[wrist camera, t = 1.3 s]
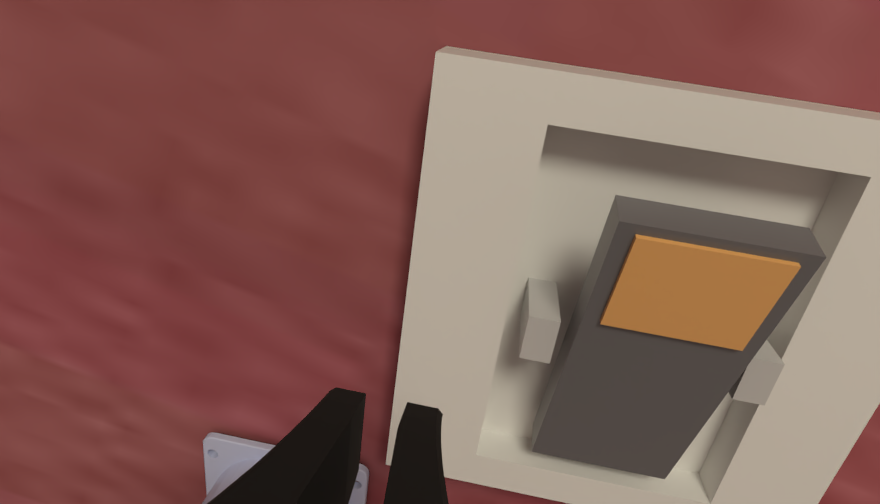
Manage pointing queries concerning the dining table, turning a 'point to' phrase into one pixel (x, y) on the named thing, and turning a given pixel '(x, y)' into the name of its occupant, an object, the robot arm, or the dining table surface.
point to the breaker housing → (572, 249)
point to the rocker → (666, 330)
